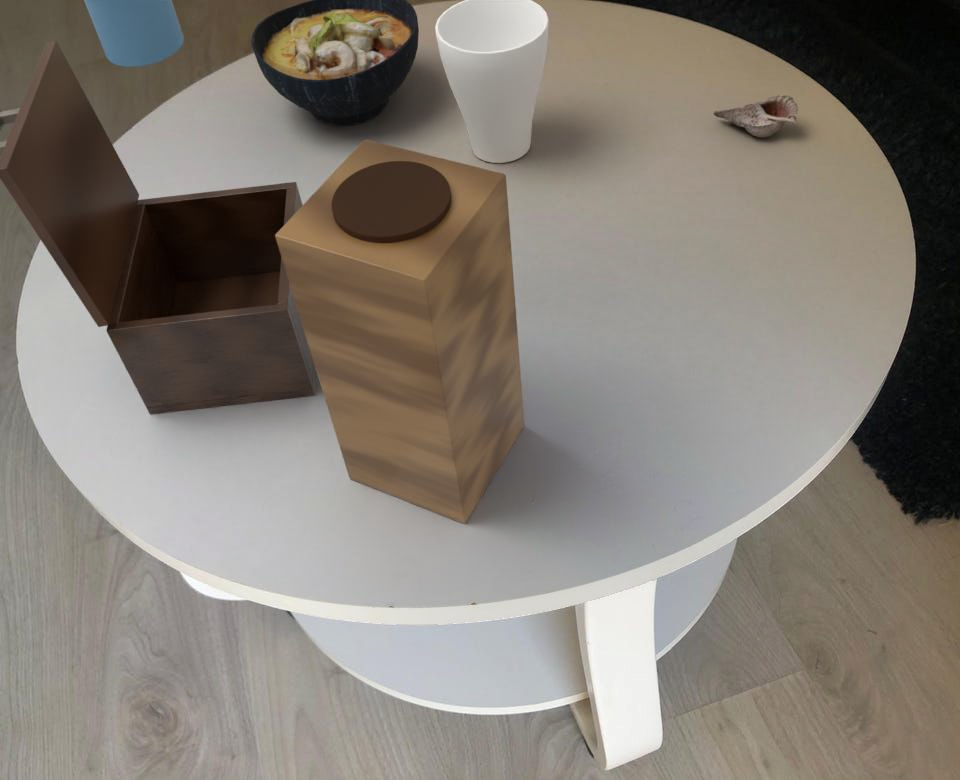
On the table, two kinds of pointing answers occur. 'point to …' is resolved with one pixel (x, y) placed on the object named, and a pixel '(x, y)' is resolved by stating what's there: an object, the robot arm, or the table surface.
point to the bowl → (338, 55)
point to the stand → (414, 336)
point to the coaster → (391, 201)
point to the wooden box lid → (70, 182)
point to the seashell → (763, 115)
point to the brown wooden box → (211, 301)
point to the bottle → (136, 30)
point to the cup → (495, 71)
